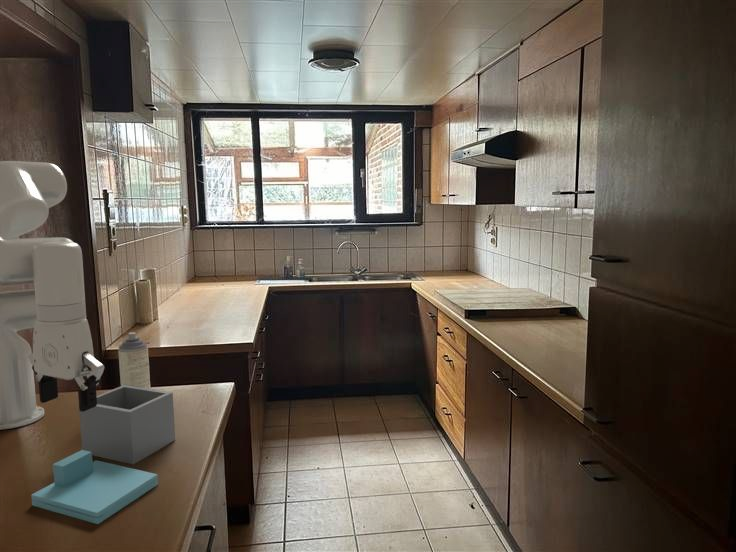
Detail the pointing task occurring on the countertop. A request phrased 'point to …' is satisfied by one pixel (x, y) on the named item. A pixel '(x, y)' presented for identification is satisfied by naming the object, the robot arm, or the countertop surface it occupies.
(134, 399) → the tub
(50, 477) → the countertop surface
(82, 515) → the lid
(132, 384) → the aerosol can
